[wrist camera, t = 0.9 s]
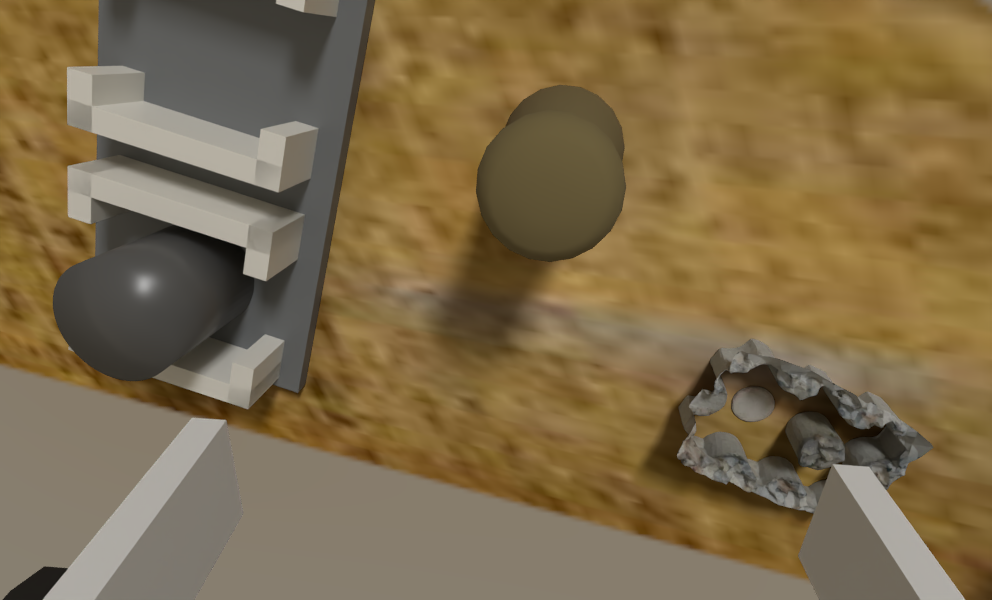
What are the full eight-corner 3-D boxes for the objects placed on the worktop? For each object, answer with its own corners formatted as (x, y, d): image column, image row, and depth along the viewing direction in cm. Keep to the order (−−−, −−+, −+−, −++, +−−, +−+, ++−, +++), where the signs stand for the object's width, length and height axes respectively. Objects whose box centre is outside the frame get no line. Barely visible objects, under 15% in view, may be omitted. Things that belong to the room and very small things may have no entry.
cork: (504, 211, 31) (463, 286, 21) (497, 88, 29) (447, 106, 19) (623, 208, 31) (639, 284, 20) (625, 80, 28) (644, 95, 18)
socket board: (383, -48, 28) (308, -85, 20) (305, 384, 37) (234, 465, 30) (116, -131, 28) (-52, -197, 21) (106, 318, 38) (-11, 383, 30)
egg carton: (659, 417, 35) (666, 461, 31) (737, 314, 32) (757, 349, 28) (818, 502, 35) (844, 555, 32) (910, 407, 32) (952, 454, 29)
